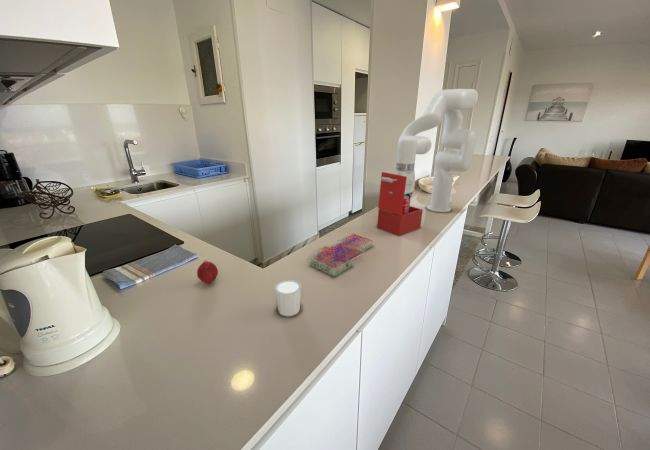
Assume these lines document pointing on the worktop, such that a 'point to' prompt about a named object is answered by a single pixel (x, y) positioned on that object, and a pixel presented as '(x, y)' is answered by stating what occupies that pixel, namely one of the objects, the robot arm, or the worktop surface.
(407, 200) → the soda can
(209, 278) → the onion
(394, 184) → the lid
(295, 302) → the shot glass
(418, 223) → the red box
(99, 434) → the worktop surface
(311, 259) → the confetti patterned tile
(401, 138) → the robot arm
